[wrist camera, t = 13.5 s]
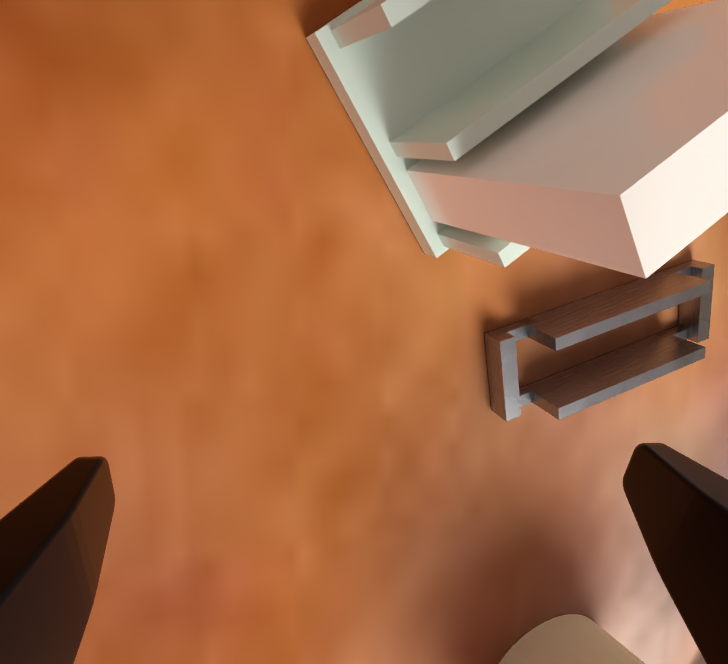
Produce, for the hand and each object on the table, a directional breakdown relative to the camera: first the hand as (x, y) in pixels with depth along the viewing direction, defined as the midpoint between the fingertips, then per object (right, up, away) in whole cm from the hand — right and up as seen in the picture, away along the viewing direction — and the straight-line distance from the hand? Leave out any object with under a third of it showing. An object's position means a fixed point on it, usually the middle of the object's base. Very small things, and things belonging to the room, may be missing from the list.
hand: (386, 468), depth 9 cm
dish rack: (+4, +12, +12) cm, 18 cm away
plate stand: (+11, +2, +18) cm, 22 cm away
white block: (+6, +10, +12) cm, 17 cm away
